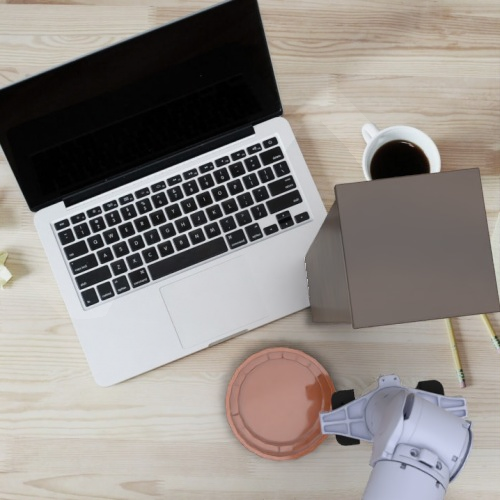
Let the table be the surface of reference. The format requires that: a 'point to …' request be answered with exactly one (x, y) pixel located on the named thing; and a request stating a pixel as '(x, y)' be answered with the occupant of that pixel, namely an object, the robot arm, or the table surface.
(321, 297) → the taupe notched tower
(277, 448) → the bowl
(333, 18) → the table surface
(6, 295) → the table surface
